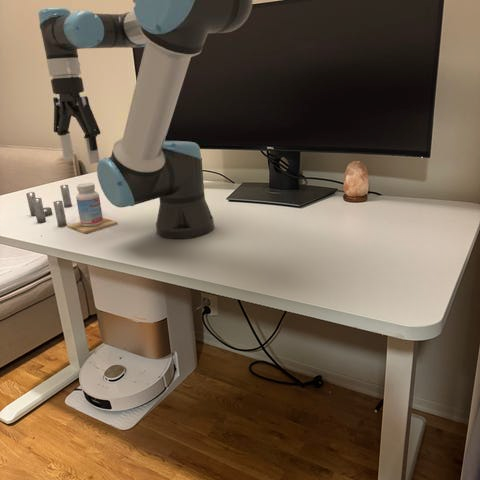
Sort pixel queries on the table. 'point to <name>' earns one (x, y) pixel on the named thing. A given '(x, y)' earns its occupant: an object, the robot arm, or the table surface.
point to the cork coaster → (90, 229)
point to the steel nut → (48, 211)
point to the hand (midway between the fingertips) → (81, 161)
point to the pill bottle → (89, 205)
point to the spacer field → (38, 210)
